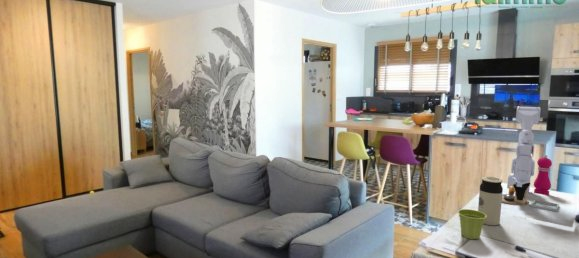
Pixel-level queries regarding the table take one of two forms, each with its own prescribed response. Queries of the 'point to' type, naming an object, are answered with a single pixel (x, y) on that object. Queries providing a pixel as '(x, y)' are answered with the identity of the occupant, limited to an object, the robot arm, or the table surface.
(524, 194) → the stop block
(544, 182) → the pepper mill
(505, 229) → the table surface
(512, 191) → the crank
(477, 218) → the plant pot
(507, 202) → the crank base
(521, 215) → the table surface
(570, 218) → the table surface
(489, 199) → the travel mug
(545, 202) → the tray
